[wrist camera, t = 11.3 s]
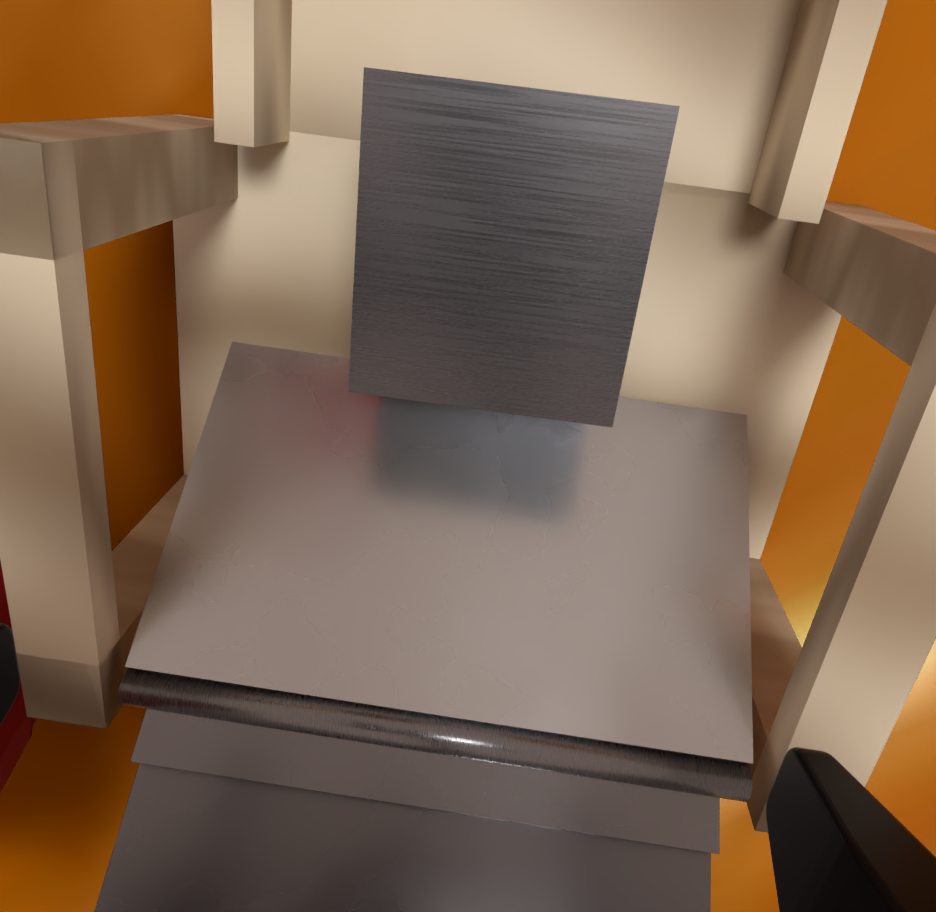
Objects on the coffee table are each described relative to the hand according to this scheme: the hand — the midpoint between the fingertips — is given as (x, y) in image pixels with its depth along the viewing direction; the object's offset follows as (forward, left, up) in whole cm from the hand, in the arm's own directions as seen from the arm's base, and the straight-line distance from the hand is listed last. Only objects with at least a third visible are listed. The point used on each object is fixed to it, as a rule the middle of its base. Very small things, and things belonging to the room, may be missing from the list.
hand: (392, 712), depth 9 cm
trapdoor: (-8, 0, -9) cm, 12 cm away
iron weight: (+1, 0, -9) cm, 9 cm away
